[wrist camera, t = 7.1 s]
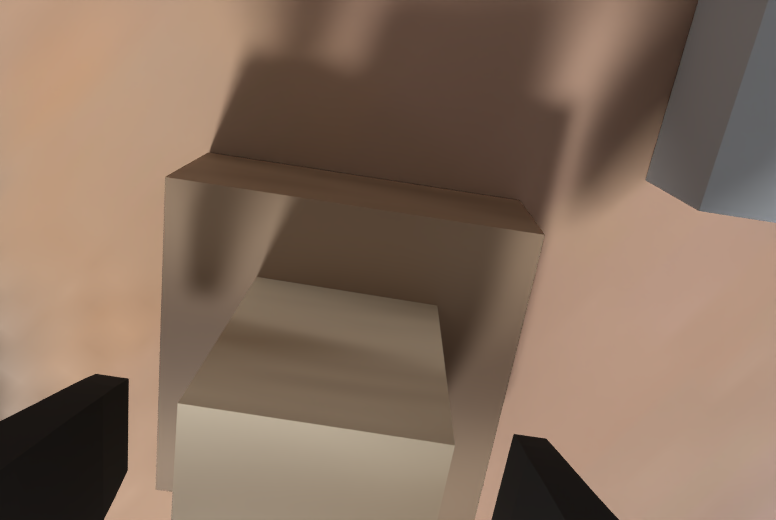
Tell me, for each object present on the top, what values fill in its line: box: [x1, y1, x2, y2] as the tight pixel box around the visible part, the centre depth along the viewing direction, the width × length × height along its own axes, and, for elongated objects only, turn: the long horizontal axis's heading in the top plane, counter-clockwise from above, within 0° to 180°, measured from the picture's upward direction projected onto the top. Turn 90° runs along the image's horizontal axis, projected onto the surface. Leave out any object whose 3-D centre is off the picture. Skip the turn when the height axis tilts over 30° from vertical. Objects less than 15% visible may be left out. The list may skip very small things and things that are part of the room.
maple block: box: [171, 277, 455, 520], centre depth 12 cm, size 4×4×5 cm
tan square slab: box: [156, 152, 545, 520], centre depth 16 cm, size 8×8×3 cm
